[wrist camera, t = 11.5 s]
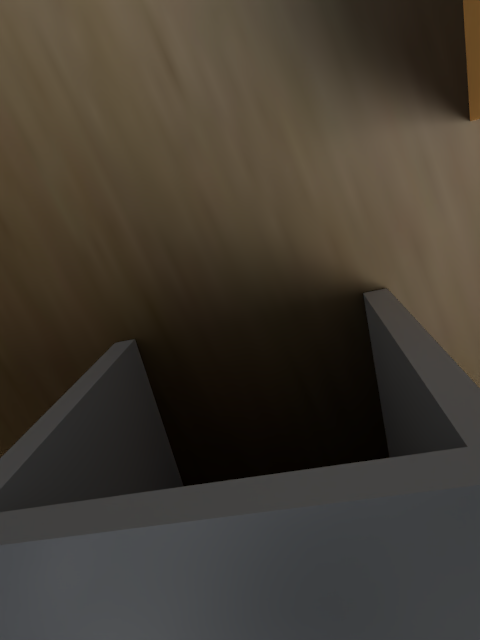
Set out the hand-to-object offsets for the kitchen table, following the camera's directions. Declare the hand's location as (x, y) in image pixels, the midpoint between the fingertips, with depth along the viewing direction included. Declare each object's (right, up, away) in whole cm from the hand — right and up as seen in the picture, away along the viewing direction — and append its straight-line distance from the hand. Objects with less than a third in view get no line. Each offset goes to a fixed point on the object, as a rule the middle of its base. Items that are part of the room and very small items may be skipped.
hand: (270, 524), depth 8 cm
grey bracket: (0, +1, +3) cm, 3 cm away
